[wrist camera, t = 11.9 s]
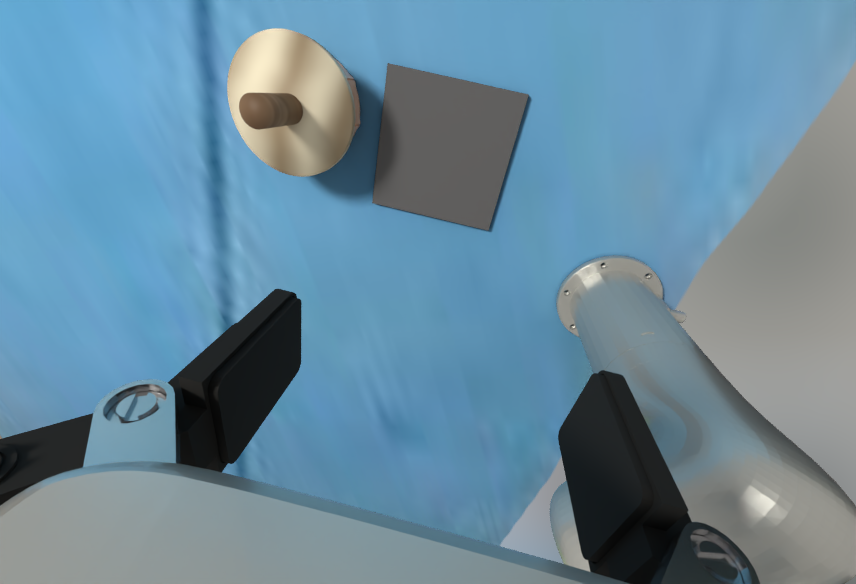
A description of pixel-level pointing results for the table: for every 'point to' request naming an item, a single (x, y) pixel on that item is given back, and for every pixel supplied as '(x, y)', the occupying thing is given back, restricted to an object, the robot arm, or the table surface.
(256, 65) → the lid
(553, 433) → the table surface
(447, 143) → the mat
